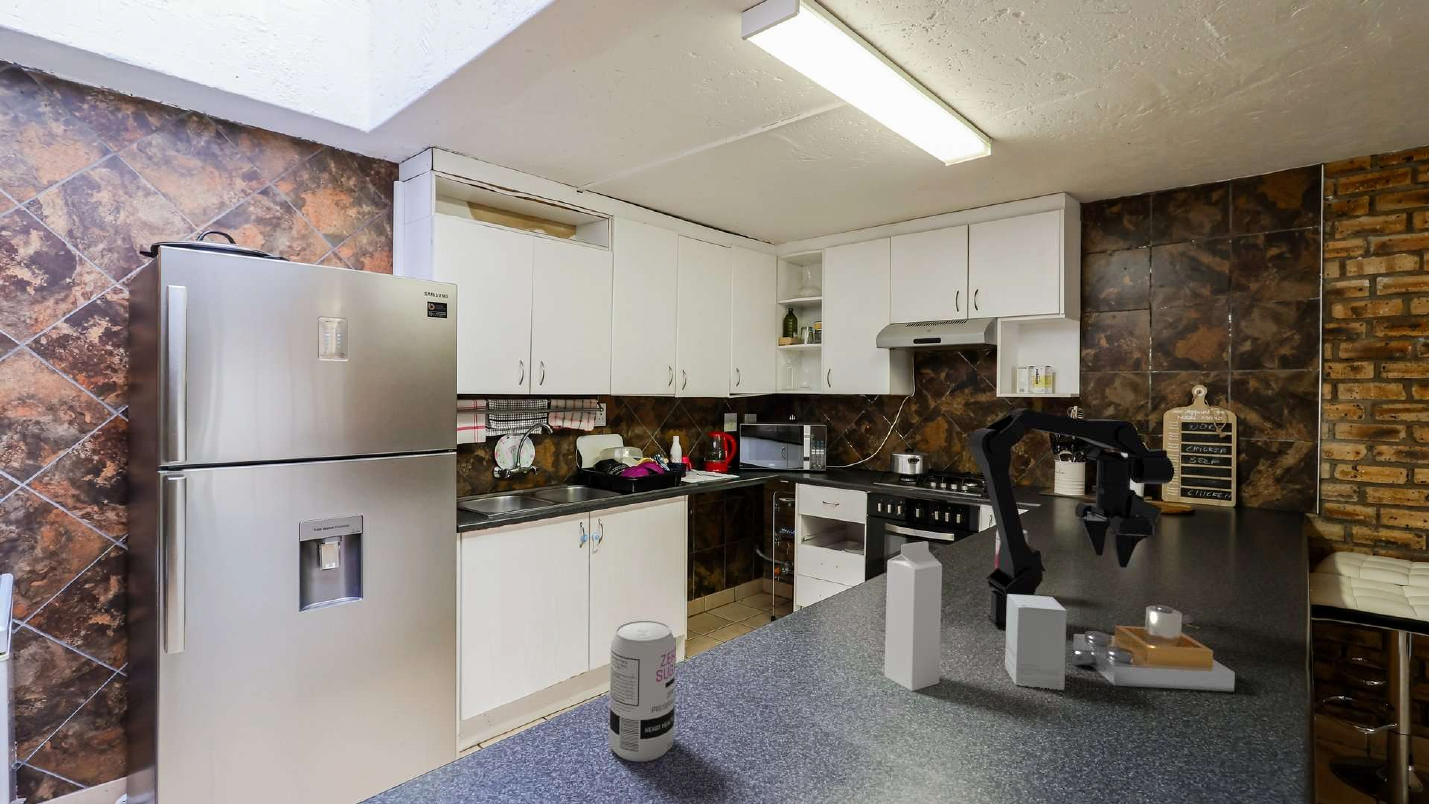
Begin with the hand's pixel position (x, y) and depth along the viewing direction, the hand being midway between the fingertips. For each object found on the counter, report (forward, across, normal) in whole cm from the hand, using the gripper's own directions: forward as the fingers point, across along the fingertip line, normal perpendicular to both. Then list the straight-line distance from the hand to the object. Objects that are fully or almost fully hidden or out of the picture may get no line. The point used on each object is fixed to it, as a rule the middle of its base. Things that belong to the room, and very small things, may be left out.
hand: (1110, 561), depth 132 cm
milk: (+13, -30, +45) cm, 56 cm away
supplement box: (+13, -27, +25) cm, 39 cm away
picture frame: (+13, -21, +5) cm, 25 cm away
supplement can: (+13, -54, +84) cm, 101 cm away
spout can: (+10, -21, +1) cm, 23 cm away
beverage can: (+13, +17, +13) cm, 25 cm away
